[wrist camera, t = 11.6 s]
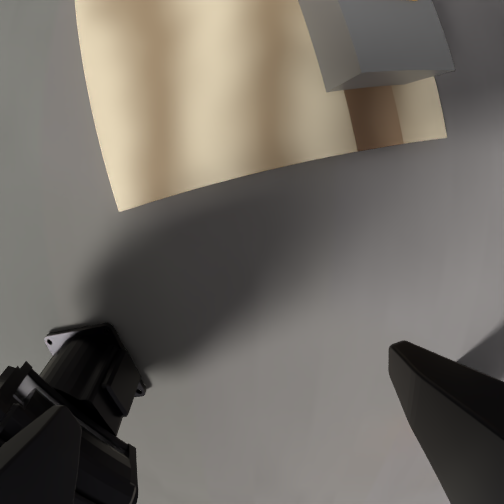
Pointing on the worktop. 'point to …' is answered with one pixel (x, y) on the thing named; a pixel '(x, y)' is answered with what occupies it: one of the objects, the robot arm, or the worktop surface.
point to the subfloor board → (226, 95)
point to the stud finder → (376, 42)
